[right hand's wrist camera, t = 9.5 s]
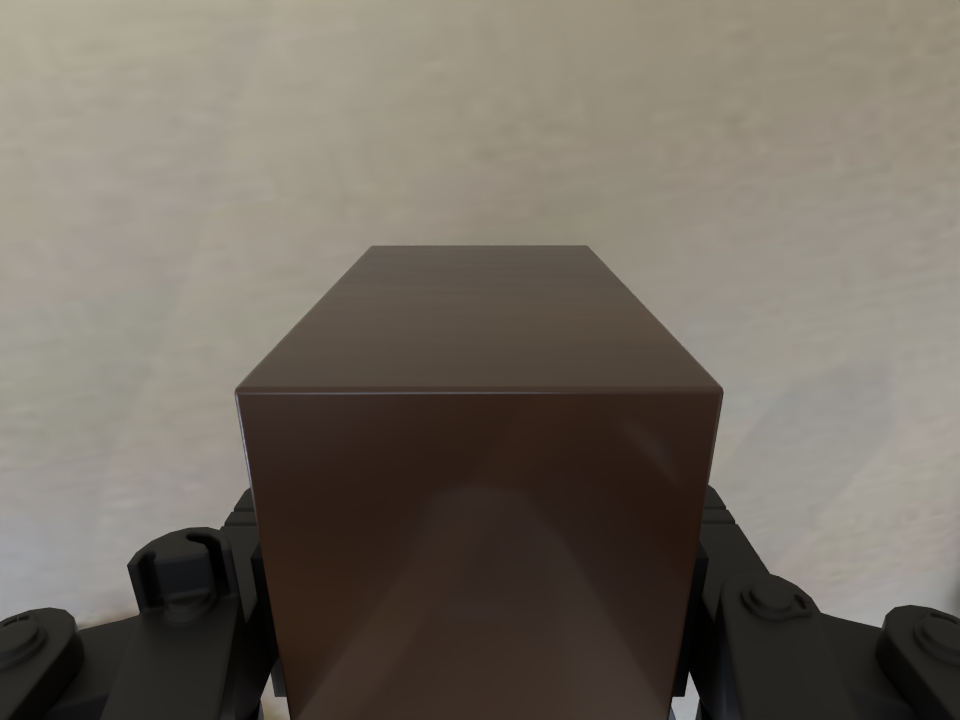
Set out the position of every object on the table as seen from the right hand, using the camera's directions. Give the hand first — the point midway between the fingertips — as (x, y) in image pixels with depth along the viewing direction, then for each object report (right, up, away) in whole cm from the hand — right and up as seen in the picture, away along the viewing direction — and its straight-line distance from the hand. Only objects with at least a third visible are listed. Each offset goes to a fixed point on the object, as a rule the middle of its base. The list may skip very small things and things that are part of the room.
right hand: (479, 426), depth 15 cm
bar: (0, -8, +3) cm, 9 cm away
